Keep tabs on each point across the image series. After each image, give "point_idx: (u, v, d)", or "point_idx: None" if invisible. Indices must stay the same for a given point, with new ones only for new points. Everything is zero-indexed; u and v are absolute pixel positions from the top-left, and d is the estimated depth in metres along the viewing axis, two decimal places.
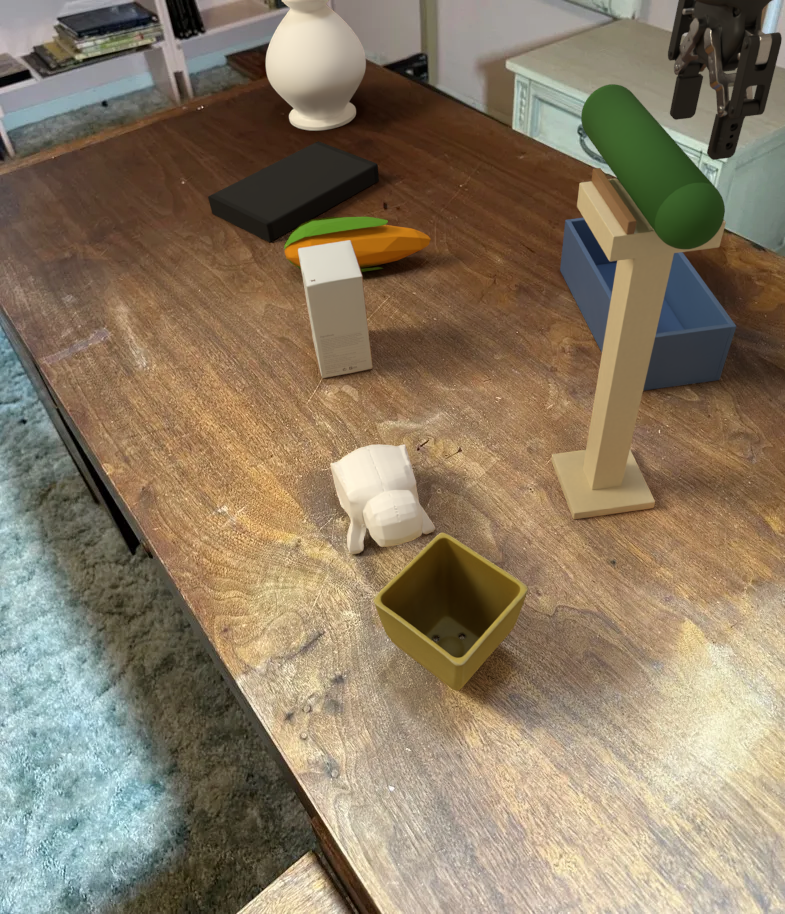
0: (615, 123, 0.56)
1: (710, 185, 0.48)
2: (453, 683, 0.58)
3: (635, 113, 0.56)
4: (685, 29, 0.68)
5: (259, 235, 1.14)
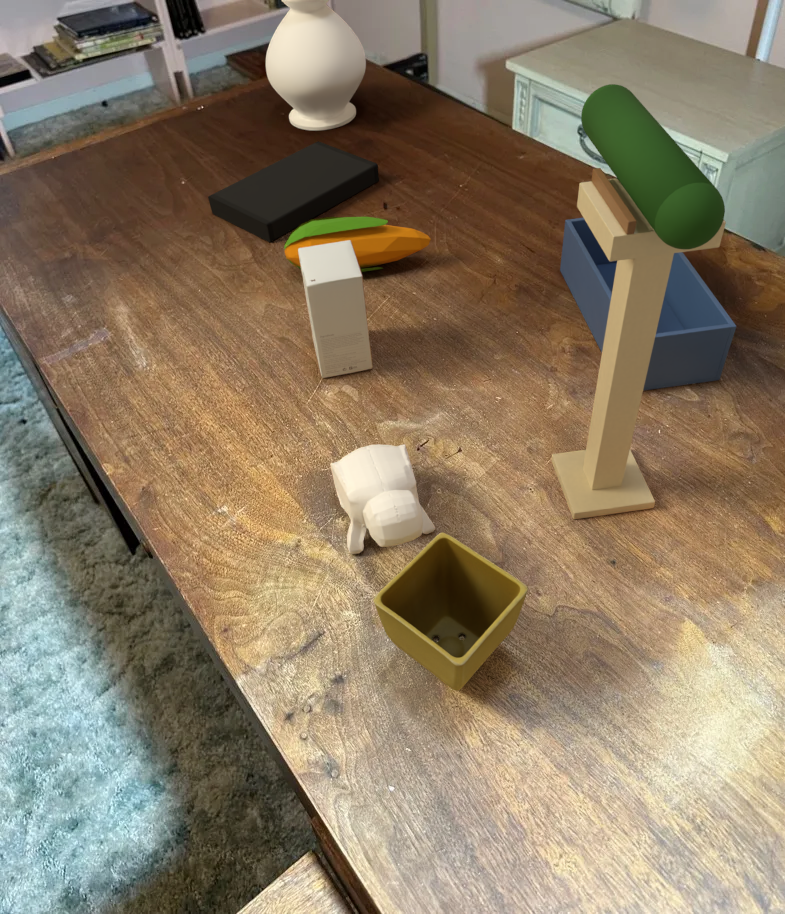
0: (615, 123, 0.56)
1: (710, 185, 0.48)
2: (453, 683, 0.58)
3: (635, 113, 0.56)
4: None
5: (259, 235, 1.14)
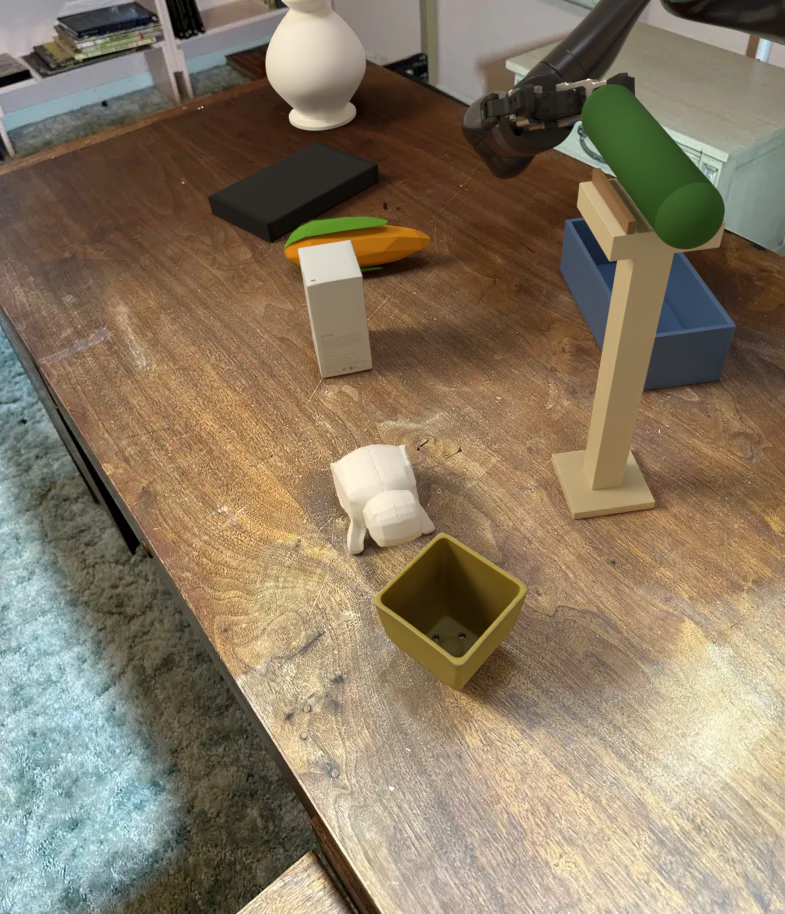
0: (615, 123, 0.56)
1: (710, 185, 0.48)
2: (453, 683, 0.58)
3: (635, 113, 0.56)
4: None
5: (259, 235, 1.14)
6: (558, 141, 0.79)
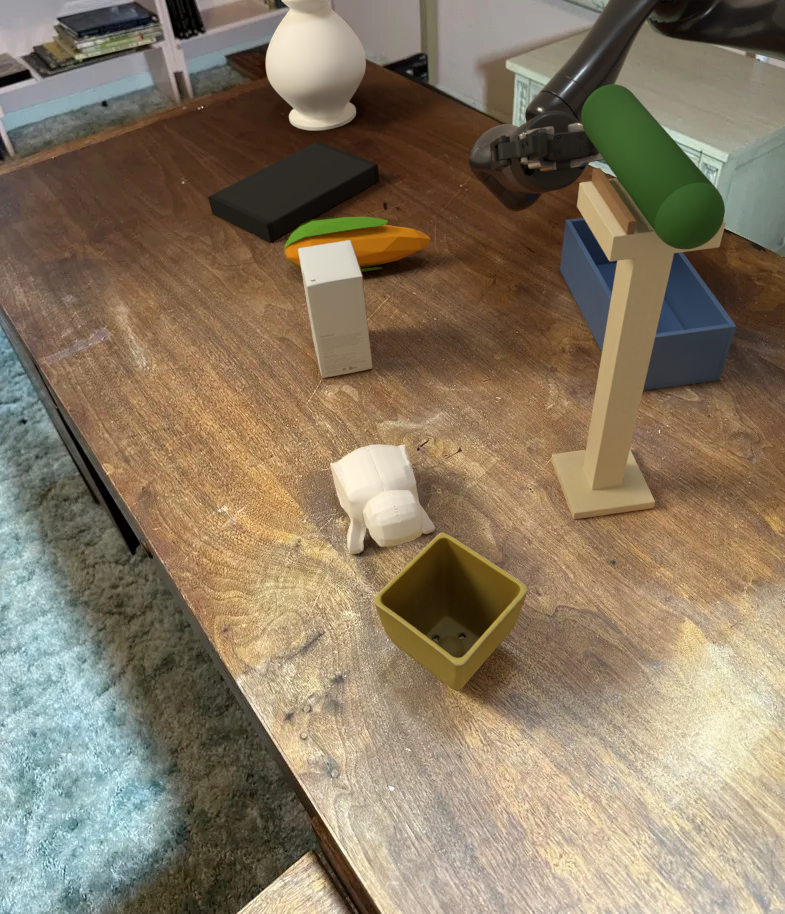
0: (615, 123, 0.56)
1: (710, 185, 0.48)
2: (453, 683, 0.58)
3: (635, 113, 0.56)
4: None
5: (259, 235, 1.14)
6: (570, 181, 0.78)
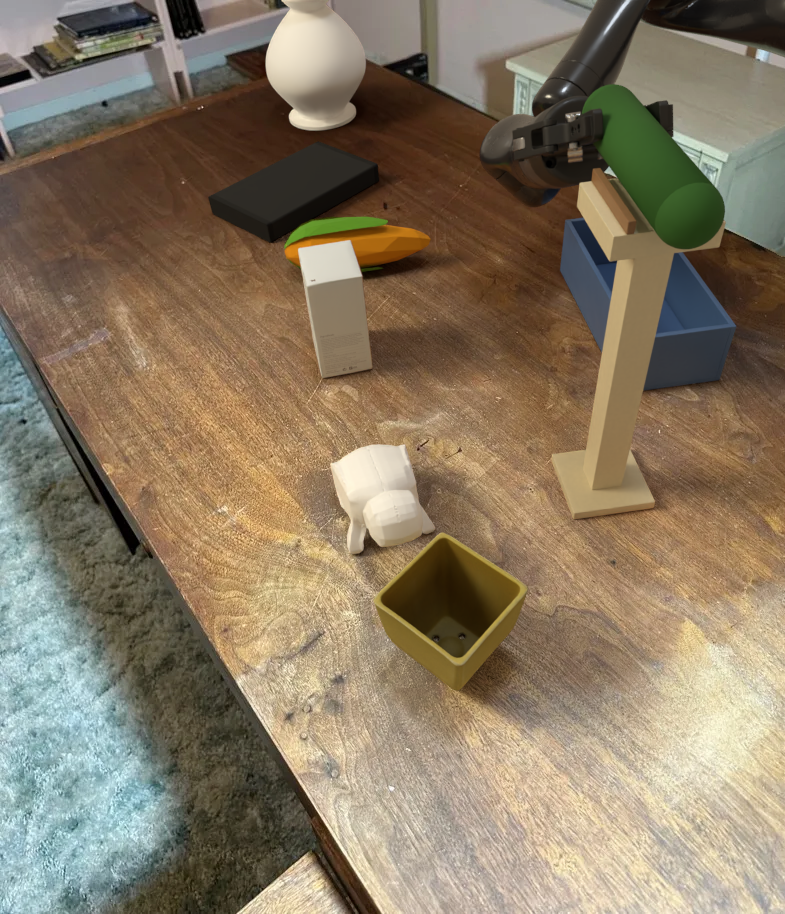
0: (615, 123, 0.56)
1: (710, 185, 0.48)
2: (453, 683, 0.58)
3: (636, 113, 0.56)
4: None
5: (259, 235, 1.14)
6: None
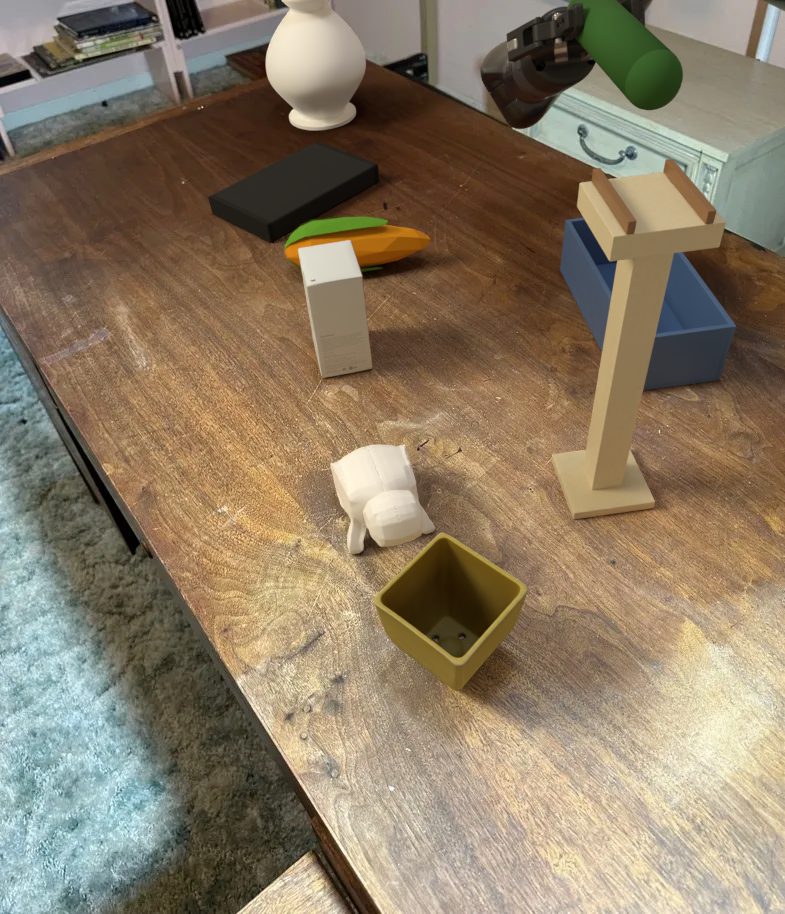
0: (594, 14, 0.66)
1: (670, 52, 0.58)
2: (453, 683, 0.58)
3: (611, 5, 0.66)
4: None
5: (260, 235, 1.14)
6: (580, 77, 0.80)
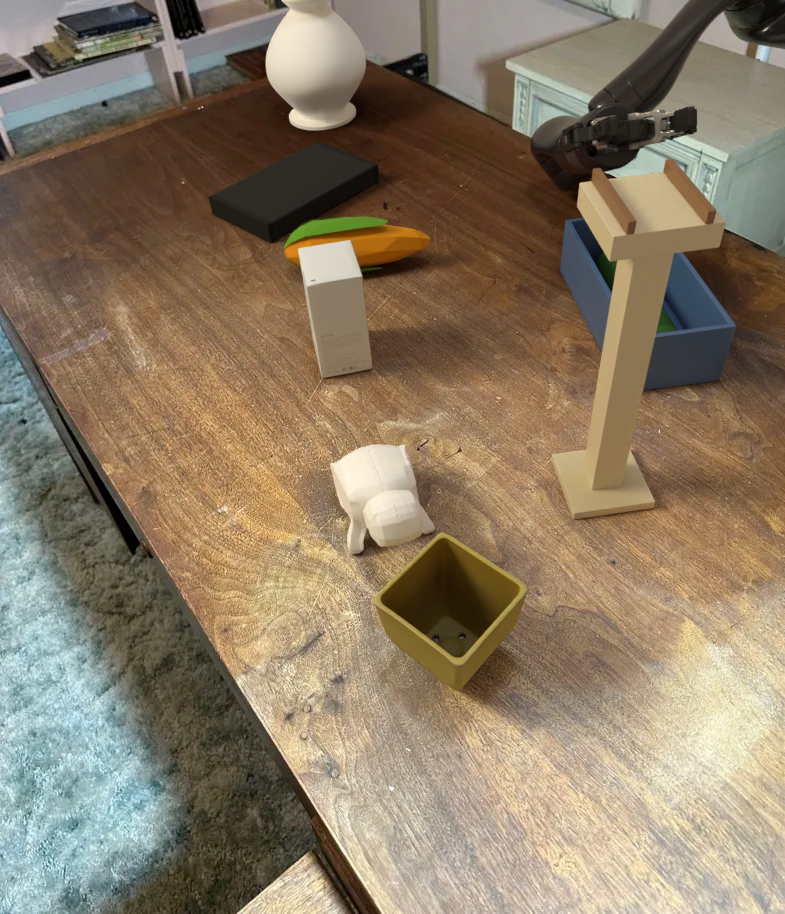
0: None
1: (672, 326, 0.86)
2: (453, 683, 0.58)
3: None
4: None
5: (260, 235, 1.14)
6: (627, 161, 0.93)
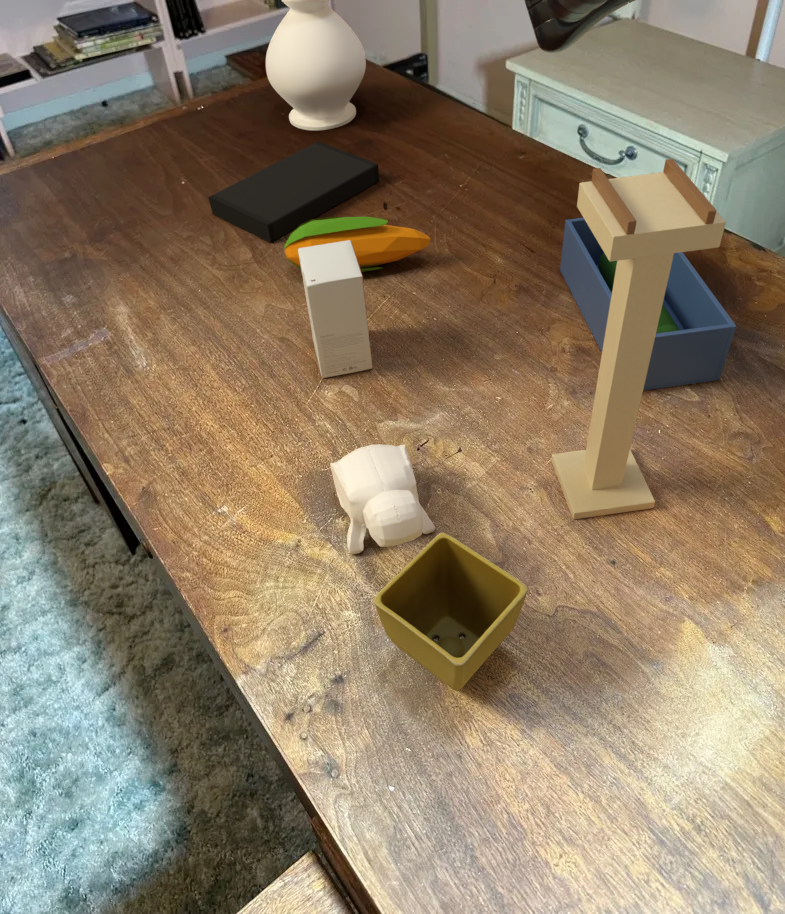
0: None
1: (676, 327, 0.86)
2: (453, 683, 0.58)
3: None
4: None
5: (260, 235, 1.14)
6: None
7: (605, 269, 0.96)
